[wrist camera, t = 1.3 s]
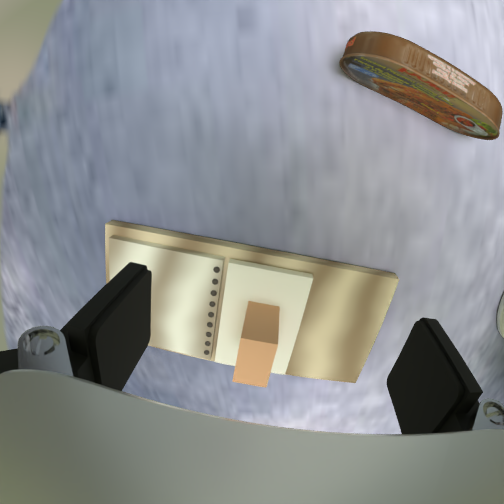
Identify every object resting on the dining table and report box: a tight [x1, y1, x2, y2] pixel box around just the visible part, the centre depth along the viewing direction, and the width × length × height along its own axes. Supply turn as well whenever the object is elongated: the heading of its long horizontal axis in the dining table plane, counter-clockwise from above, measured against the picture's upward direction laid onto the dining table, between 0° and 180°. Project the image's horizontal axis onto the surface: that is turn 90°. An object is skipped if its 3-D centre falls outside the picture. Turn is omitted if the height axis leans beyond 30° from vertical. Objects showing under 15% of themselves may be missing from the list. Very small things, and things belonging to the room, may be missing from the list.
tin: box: [340, 32, 502, 140], centre depth 20 cm, size 15×3×8 cm, turn 72°
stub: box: [215, 259, 313, 387], centre depth 29 cm, size 8×12×7 cm, turn 171°
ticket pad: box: [105, 220, 399, 383], centre depth 32 cm, size 30×14×3 cm, turn 81°
